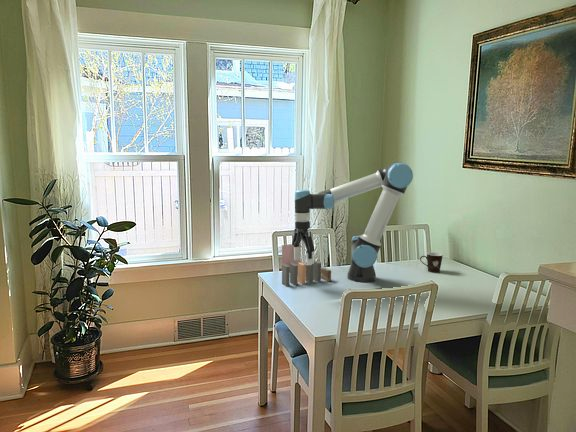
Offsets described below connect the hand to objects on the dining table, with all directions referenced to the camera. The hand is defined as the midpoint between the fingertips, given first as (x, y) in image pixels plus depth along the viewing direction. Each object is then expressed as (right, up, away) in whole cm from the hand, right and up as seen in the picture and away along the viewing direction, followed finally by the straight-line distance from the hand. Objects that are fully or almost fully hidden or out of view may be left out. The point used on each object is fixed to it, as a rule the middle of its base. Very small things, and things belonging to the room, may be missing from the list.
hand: (303, 262), depth 221 cm
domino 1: (-9, -11, -2) cm, 14 cm away
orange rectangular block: (-1, -11, +1) cm, 11 cm away
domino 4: (+7, -10, +5) cm, 14 cm away
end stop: (+12, -10, +8) cm, 18 cm away
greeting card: (-5, -8, +23) cm, 25 cm away
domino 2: (-5, -11, 0) cm, 12 cm away
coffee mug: (+75, -8, +28) cm, 80 cm away
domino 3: (+3, -11, +3) cm, 12 cm away
